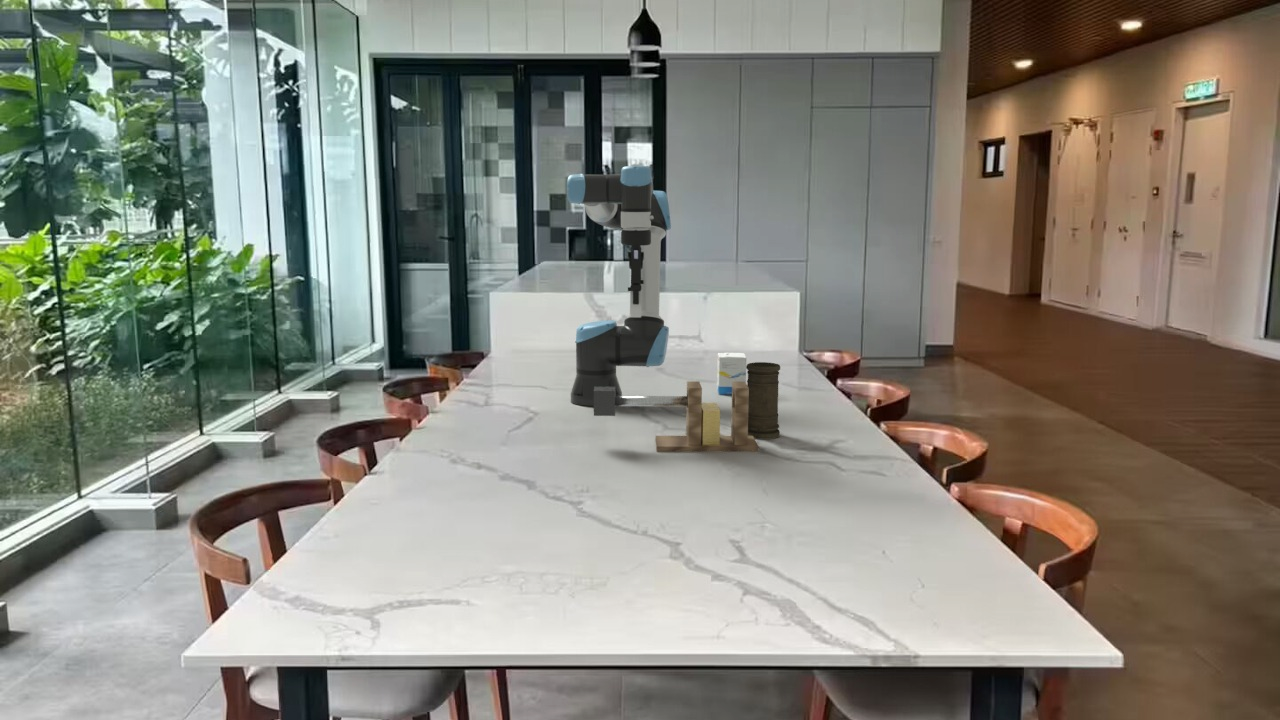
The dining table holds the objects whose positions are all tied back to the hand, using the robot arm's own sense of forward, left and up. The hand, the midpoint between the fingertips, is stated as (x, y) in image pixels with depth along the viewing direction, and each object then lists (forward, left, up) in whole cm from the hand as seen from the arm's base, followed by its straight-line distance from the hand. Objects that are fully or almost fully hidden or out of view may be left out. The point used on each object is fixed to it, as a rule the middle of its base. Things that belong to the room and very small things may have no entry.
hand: (635, 313), depth 234 cm
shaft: (+2, -18, -22) cm, 28 cm away
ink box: (+30, +44, -30) cm, 61 cm away
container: (+32, -8, -30) cm, 44 cm away
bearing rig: (+17, -18, -30) cm, 39 cm away
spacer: (+18, -18, -29) cm, 38 cm away
